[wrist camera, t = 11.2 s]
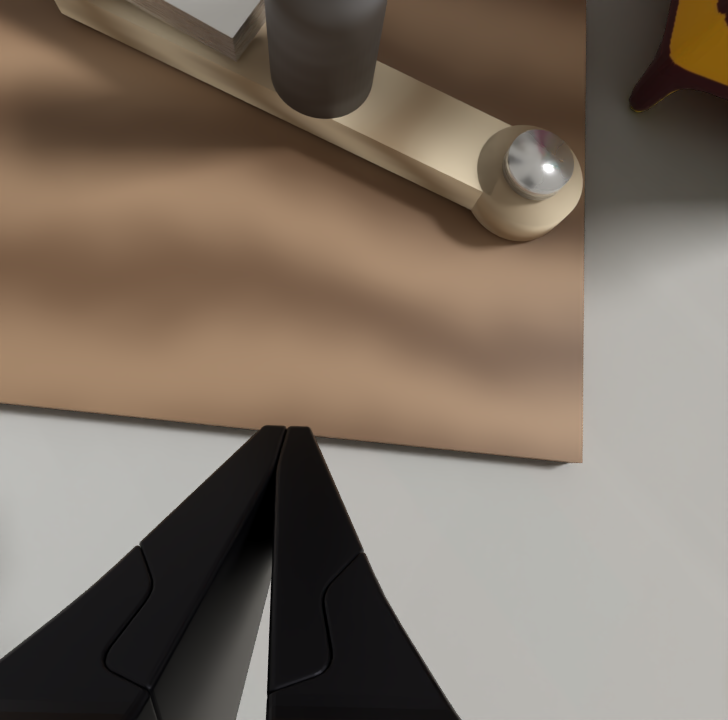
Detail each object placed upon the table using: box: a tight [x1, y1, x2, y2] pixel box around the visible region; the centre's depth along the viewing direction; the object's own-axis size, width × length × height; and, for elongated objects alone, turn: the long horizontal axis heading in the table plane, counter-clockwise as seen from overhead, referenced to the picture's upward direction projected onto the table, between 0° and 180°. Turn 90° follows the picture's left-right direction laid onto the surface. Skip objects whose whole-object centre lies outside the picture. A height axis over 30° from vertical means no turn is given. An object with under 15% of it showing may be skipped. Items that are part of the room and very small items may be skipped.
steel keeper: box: [126, 0, 574, 200], centre depth 22 cm, size 26×5×4 cm, turn 62°
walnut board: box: [0, 0, 586, 463], centre depth 23 cm, size 24×28×1 cm
